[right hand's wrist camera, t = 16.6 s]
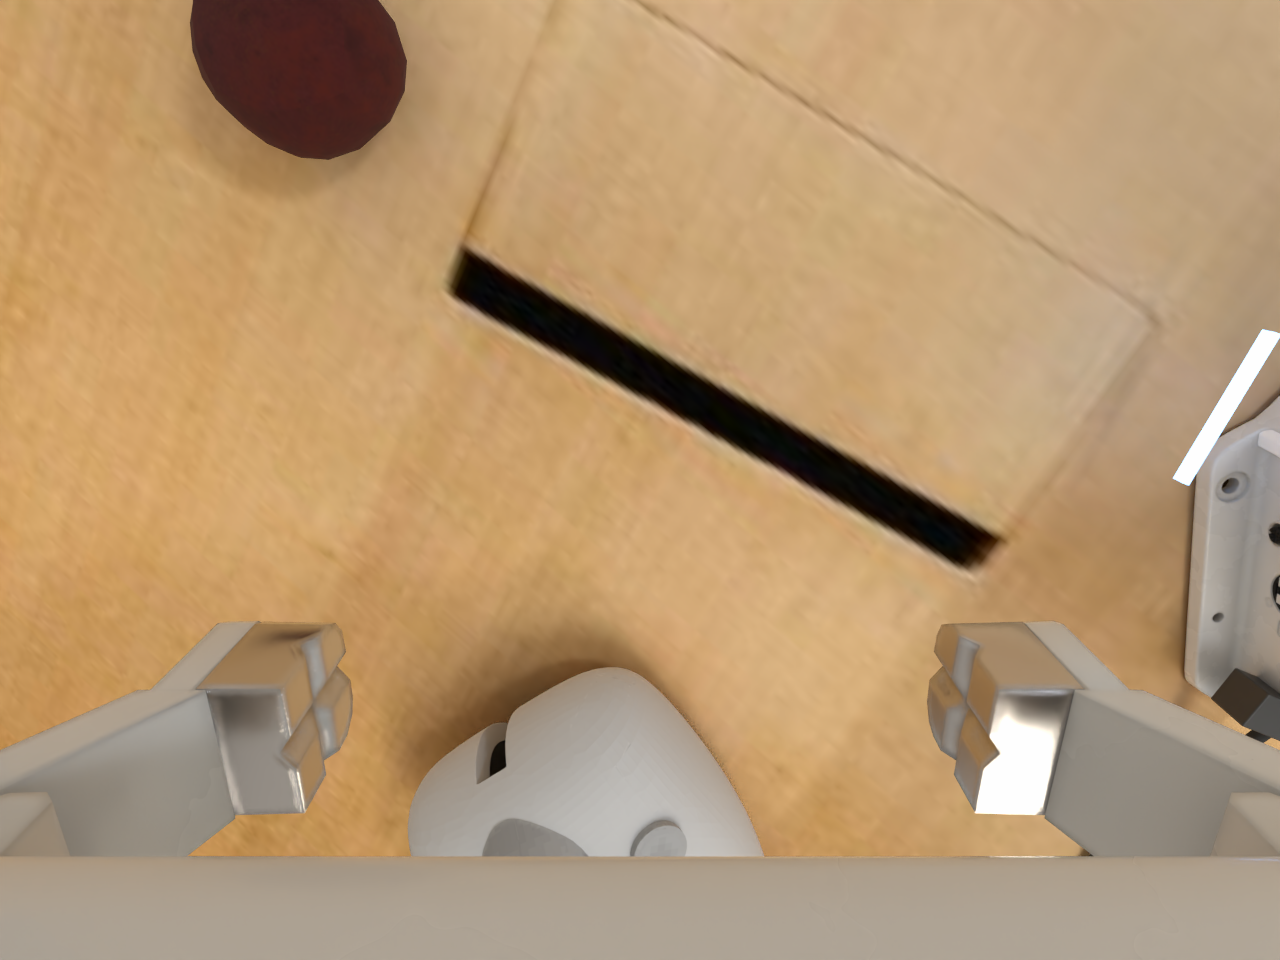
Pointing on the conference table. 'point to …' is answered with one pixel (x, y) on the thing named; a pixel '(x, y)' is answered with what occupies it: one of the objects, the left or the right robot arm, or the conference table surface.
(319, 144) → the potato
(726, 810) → the white molded housing
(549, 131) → the conference table surface
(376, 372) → the conference table surface
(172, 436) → the conference table surface
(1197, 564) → the right robot arm
